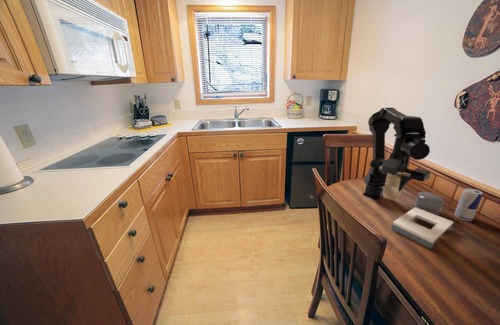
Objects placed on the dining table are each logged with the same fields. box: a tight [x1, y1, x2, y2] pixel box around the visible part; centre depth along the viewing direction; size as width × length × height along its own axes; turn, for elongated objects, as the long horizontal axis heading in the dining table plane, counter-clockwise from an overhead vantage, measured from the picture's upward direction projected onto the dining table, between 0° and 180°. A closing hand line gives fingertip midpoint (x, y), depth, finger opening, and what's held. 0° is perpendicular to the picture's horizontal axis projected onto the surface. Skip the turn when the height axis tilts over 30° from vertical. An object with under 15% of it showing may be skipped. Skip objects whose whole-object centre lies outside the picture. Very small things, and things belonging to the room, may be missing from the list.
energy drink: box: [454, 187, 484, 222], centre depth 82 cm, size 5×5×12 cm
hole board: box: [390, 207, 454, 250], centre depth 77 cm, size 12×18×4 cm, turn 122°
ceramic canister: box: [413, 191, 445, 216], centre depth 87 cm, size 8×8×7 cm
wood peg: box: [382, 172, 405, 201], centre depth 82 cm, size 4×4×10 cm
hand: (393, 188), depth 83 cm, fingers closed on wood peg, 4 cm apart
